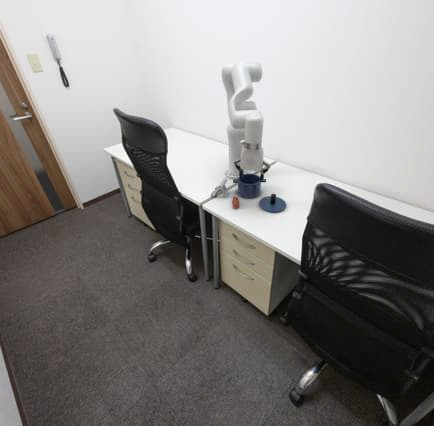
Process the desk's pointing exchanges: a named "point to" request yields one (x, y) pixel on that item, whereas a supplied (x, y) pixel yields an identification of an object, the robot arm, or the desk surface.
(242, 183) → the pot
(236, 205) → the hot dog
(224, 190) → the tablet stand
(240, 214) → the desk surface
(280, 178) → the desk surface
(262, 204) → the lid
